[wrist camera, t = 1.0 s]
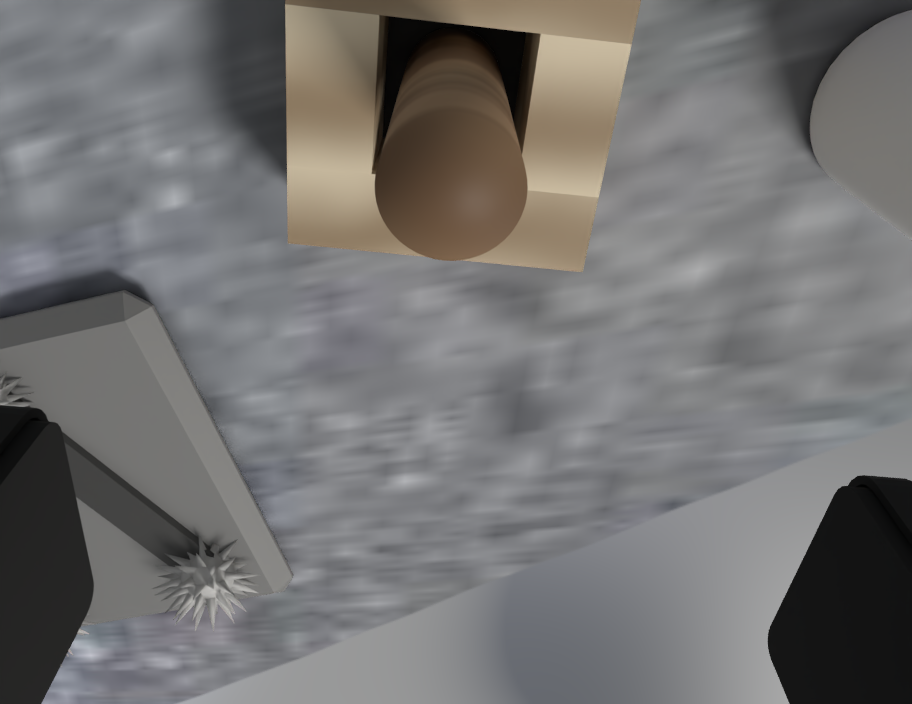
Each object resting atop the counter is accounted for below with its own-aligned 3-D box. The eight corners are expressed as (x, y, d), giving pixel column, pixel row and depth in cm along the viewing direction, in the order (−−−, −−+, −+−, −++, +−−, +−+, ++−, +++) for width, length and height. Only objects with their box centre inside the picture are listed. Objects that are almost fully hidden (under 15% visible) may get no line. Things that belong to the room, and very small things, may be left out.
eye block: (310, -106, 28) (283, -106, 24) (624, -67, 29) (654, -60, 24) (308, 199, 34) (288, 243, 30) (567, 225, 35) (582, 272, 31)
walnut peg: (408, 21, 30) (378, 104, 18) (506, 33, 31) (539, 121, 19) (402, 121, 32) (370, 253, 20) (493, 130, 33) (515, 267, 21)
